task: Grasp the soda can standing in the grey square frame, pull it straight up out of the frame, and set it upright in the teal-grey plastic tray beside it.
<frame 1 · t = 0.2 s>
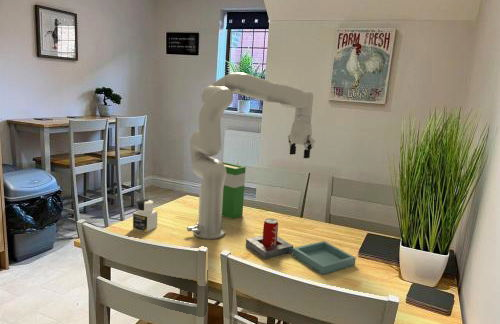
hand: (299, 156, 167), 31 cm above the table, tool pointing down, fingers open, 9 cm apart
grey square frame: (268, 249, 138), on the table
medicine bottle: (145, 228, 151), on the table
tray: (322, 260, 132), on the table
soda can: (268, 250, 138), resting in grey square frame
green cereal box: (223, 212, 177), on the table
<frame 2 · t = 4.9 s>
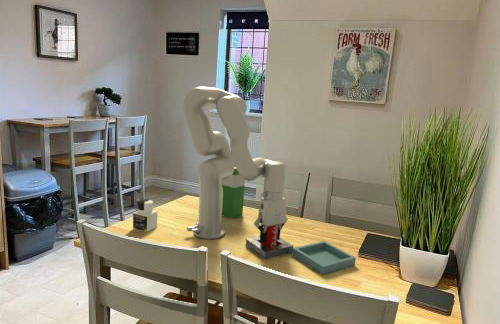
hand: (269, 239, 138), 4 cm above the table, tool pointing down, fingers closed on soda can, 5 cm apart
soda can: (268, 250, 138), resting in grey square frame, touching gripper
everything else where it was.
when the fingers open (6 cm above the table, at t = 12.6 s): soda can drops 1 cm, resting on tray.
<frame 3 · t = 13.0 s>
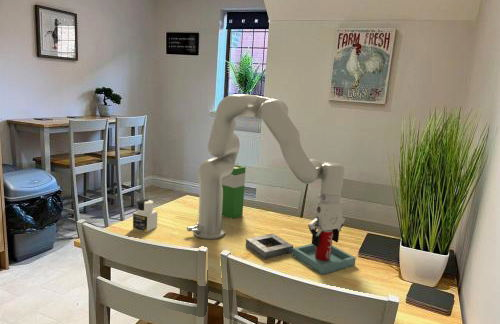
hand: (324, 242, 131), 7 cm above the table, tool pointing down, fingers open, 9 cm apart
soda can: (322, 259, 132), resting on tray
everything else where it was.
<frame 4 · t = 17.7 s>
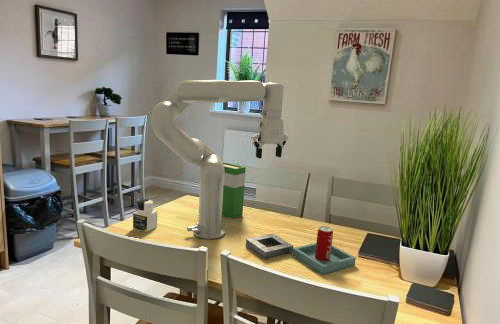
hand: (268, 157, 146), 33 cm above the table, tool pointing down, fingers open, 9 cm apart
nothing on the table moved.
at the end: soda can inside the target area on the tray (0.3 cm from its centre), point 0.4 cm above the tray's base; soda can tilted 0°; the gripper is holding nothing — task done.
